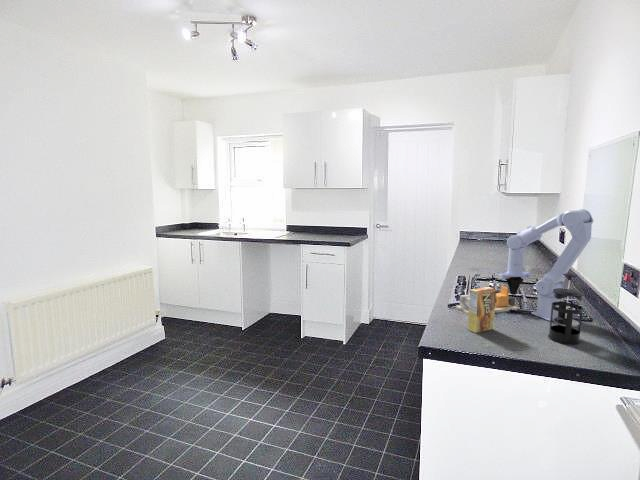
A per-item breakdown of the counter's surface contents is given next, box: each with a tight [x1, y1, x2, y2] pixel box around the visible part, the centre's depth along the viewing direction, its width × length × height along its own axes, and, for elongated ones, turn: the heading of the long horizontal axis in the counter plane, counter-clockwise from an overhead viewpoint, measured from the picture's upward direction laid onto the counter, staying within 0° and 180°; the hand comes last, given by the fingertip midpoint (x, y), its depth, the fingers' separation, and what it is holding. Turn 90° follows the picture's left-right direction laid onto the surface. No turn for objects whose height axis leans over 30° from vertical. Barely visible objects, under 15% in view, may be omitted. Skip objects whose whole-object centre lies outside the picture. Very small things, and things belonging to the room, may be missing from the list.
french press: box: [547, 272, 585, 346], centre depth 136 cm, size 12×9×23 cm
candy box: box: [467, 286, 497, 334], centre depth 145 cm, size 9×4×15 cm, turn 116°
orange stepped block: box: [495, 285, 510, 307], centre depth 170 cm, size 4×5×8 cm
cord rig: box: [455, 294, 521, 315], centre depth 169 cm, size 10×24×6 cm, turn 106°
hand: (513, 294), depth 172 cm, fingers closed
